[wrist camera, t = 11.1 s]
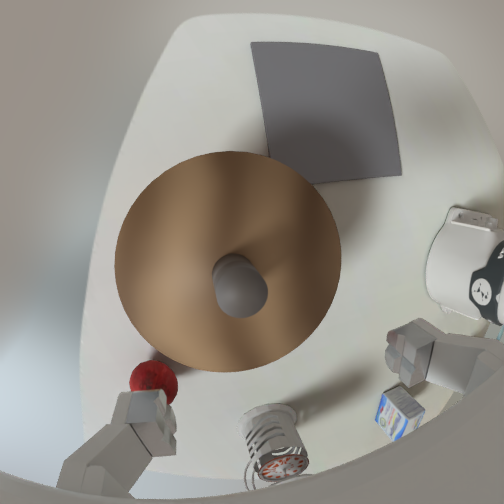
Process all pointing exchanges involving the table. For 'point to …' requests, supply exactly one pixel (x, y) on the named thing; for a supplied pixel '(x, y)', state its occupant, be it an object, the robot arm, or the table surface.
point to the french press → (273, 443)
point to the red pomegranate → (154, 379)
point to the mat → (326, 111)
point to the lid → (227, 261)
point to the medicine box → (398, 413)
